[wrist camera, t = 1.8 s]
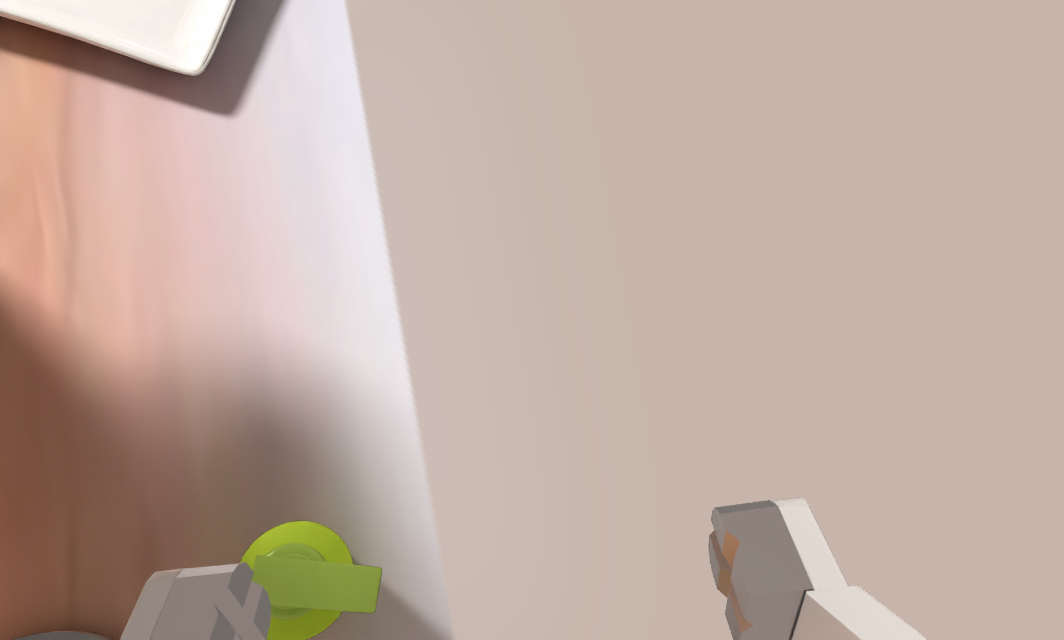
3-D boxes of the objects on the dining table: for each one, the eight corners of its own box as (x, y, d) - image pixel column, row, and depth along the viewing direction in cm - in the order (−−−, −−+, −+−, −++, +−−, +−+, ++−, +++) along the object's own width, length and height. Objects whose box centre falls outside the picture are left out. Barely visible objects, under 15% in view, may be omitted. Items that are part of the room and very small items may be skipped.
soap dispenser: (357, 628, 45) (366, 666, 27) (253, 620, 43) (188, 654, 25) (373, 540, 47) (391, 520, 29) (274, 529, 45) (229, 501, 28)
